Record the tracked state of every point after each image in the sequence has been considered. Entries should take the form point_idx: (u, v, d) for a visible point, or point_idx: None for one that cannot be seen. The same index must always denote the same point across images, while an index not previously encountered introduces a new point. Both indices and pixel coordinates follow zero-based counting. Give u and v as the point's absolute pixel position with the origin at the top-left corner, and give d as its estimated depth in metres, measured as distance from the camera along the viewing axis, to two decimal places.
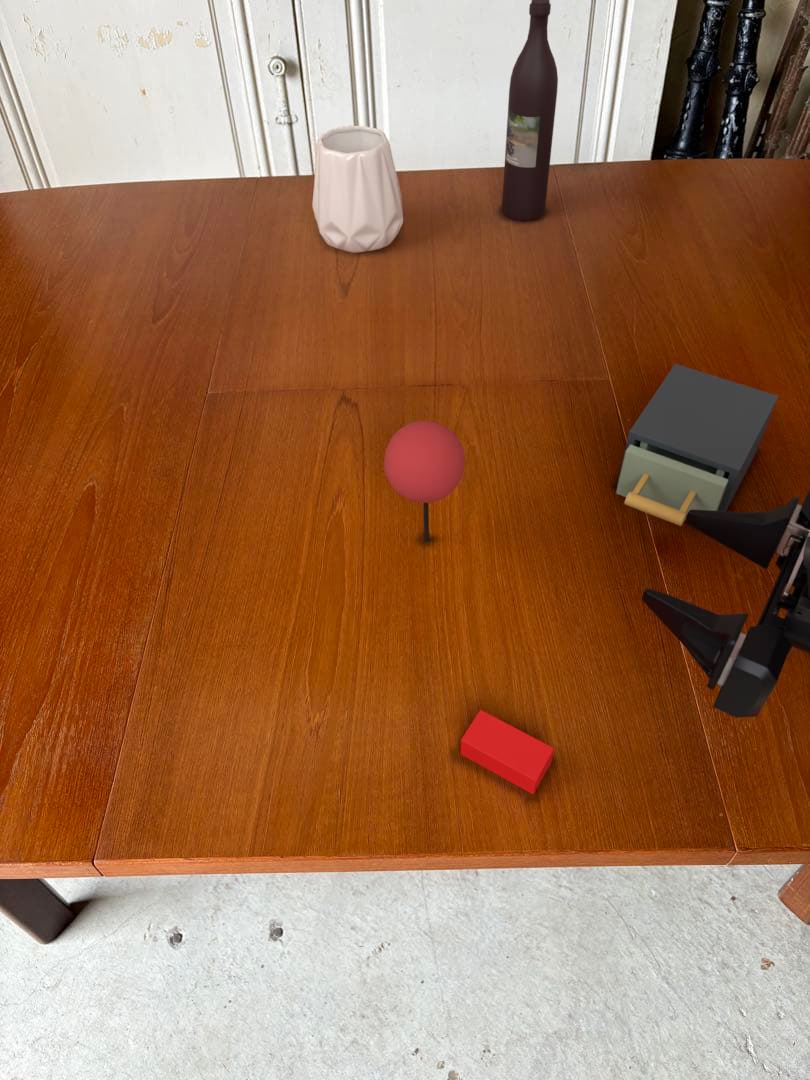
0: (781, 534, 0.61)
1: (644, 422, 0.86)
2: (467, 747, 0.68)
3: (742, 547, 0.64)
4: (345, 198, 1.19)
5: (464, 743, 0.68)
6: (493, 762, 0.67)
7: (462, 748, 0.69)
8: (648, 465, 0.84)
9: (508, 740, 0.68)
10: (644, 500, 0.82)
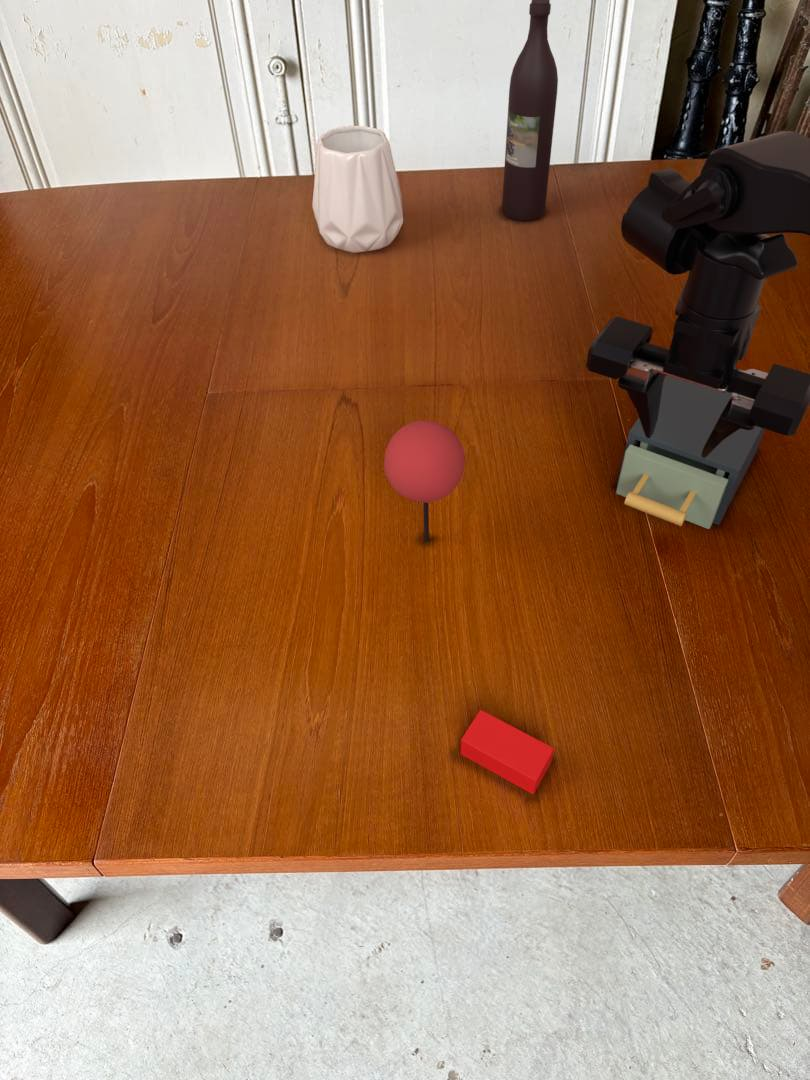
0: None
1: None
2: (467, 747, 0.68)
3: None
4: (345, 198, 1.19)
5: (464, 743, 0.68)
6: (493, 762, 0.67)
7: (462, 748, 0.69)
8: (648, 465, 0.84)
9: (508, 740, 0.68)
10: (644, 500, 0.82)
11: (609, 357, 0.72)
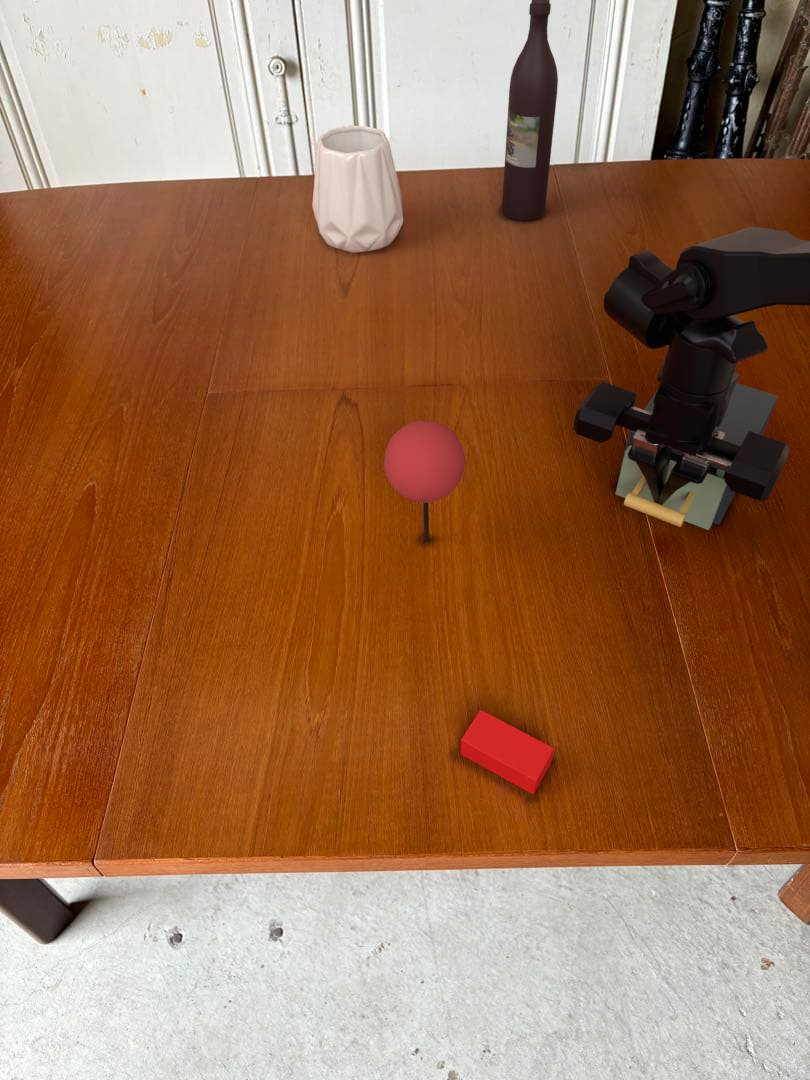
0: None
1: None
2: (467, 747, 0.68)
3: None
4: (345, 198, 1.19)
5: (464, 743, 0.68)
6: (493, 762, 0.67)
7: (462, 748, 0.69)
8: None
9: (508, 740, 0.68)
10: (643, 501, 0.82)
11: (595, 423, 0.76)
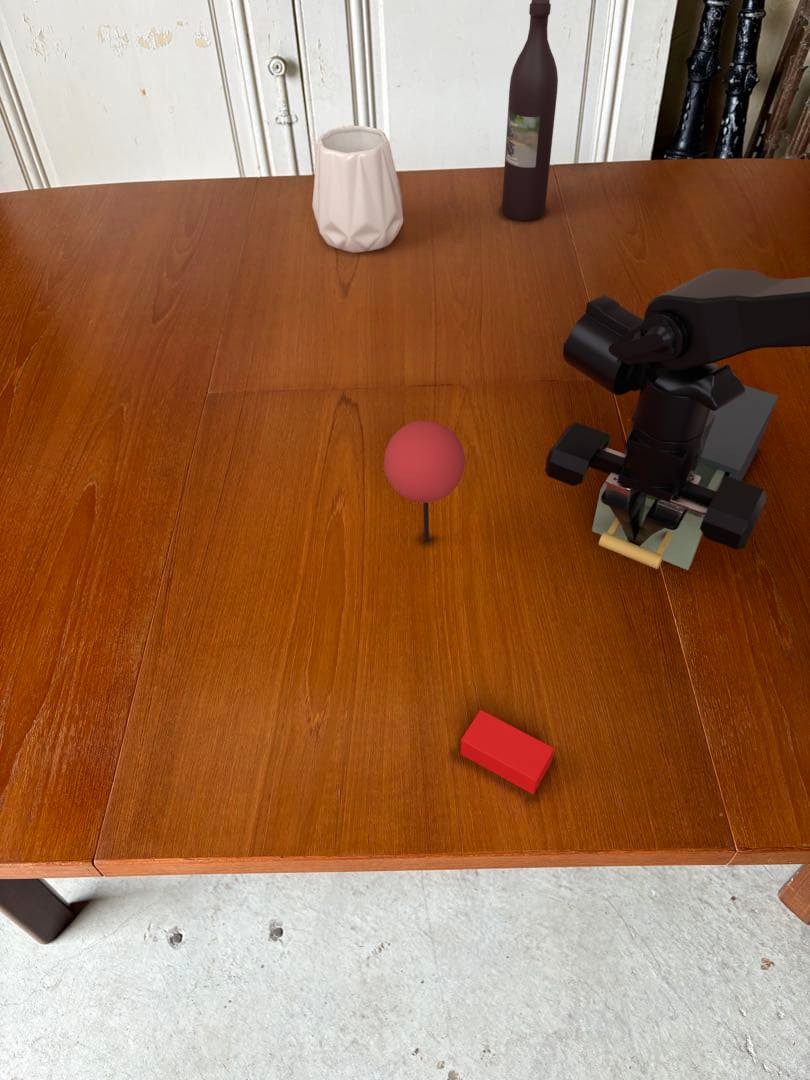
0: None
1: None
2: (467, 747, 0.68)
3: None
4: (345, 198, 1.19)
5: (464, 743, 0.68)
6: (493, 762, 0.67)
7: (462, 748, 0.69)
8: None
9: (508, 740, 0.68)
10: (619, 541, 0.78)
11: (566, 466, 0.74)
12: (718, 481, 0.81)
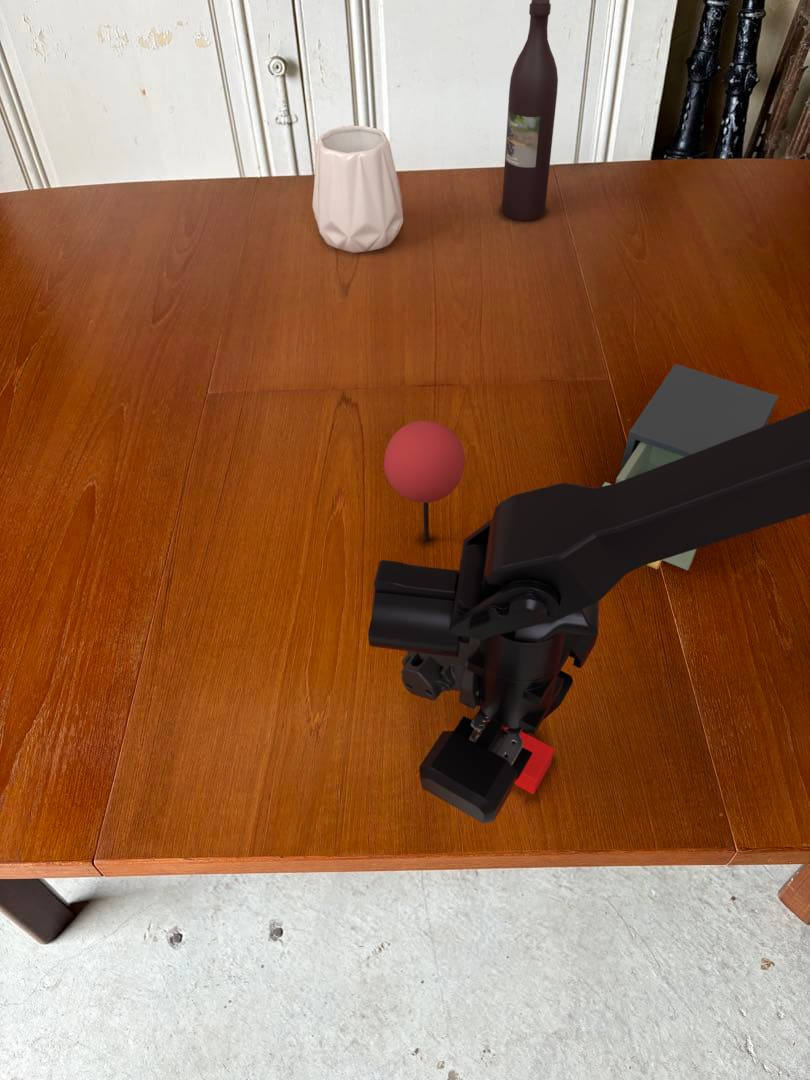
0: None
1: (644, 422, 0.86)
2: None
3: None
4: (345, 198, 1.19)
5: None
6: None
7: None
8: None
9: None
10: None
11: (504, 790, 0.57)
12: None
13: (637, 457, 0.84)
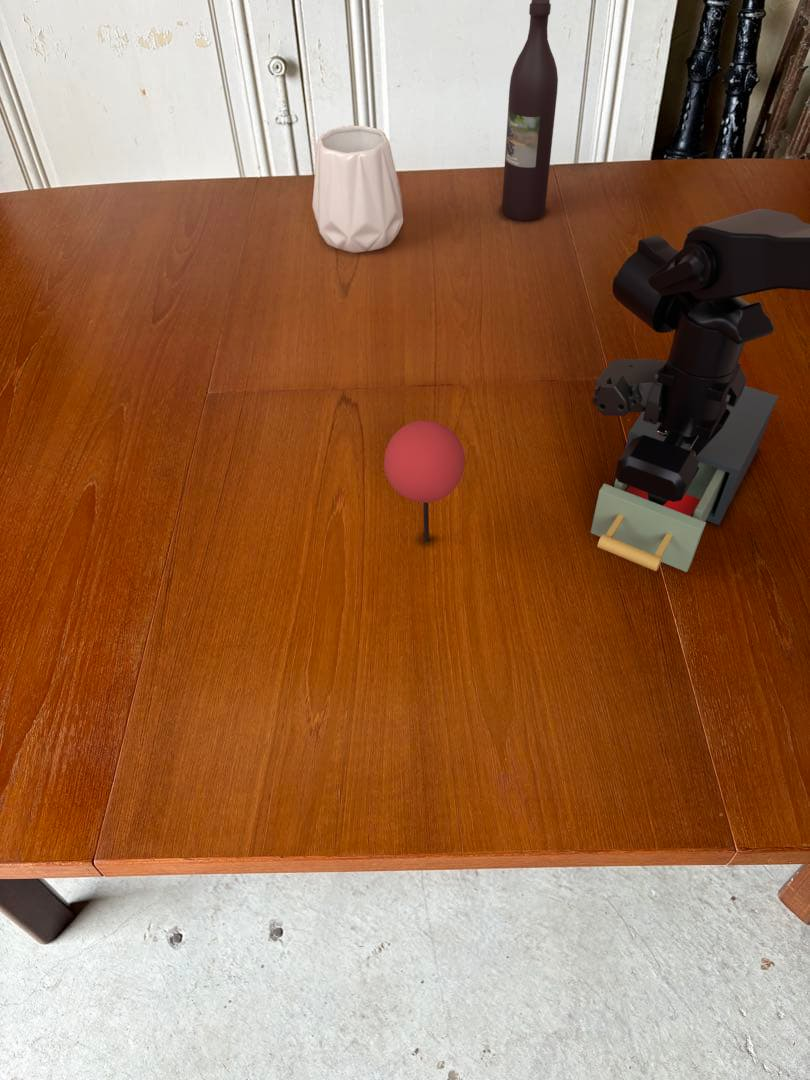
0: None
1: (644, 422, 0.86)
2: None
3: (699, 440, 0.80)
4: (345, 198, 1.19)
5: None
6: None
7: None
8: (622, 505, 0.80)
9: None
10: (618, 543, 0.78)
11: (691, 472, 0.70)
12: (717, 483, 0.81)
13: None
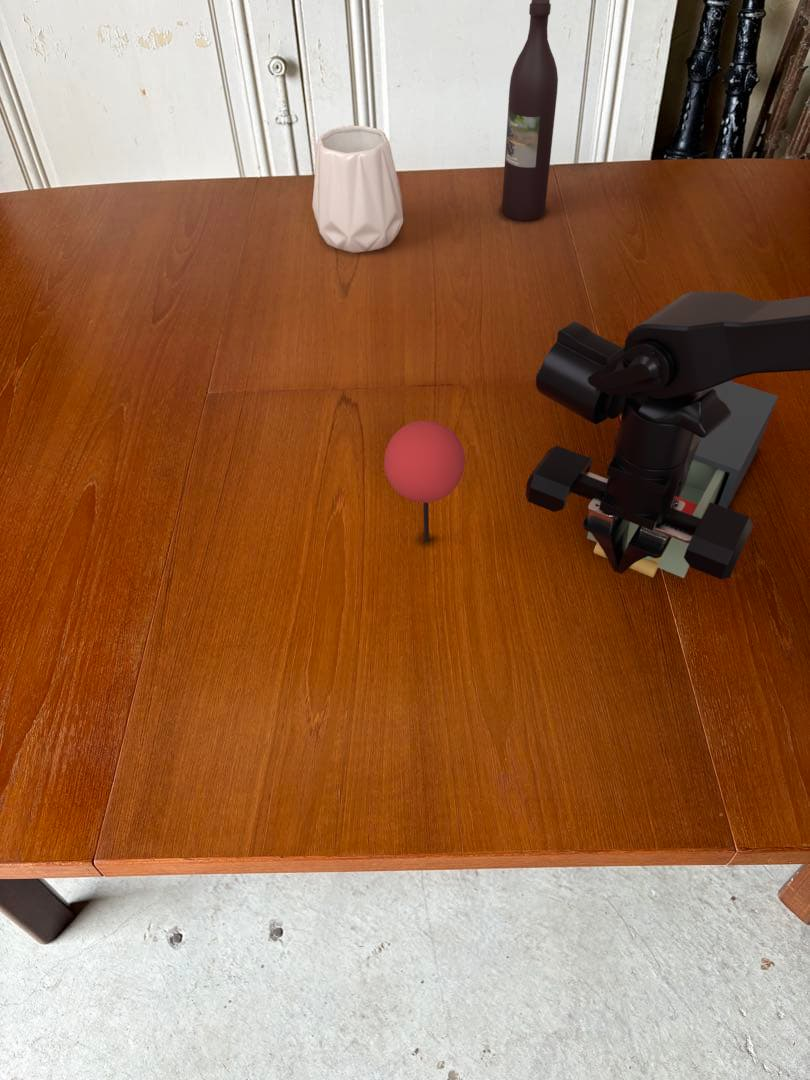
0: None
1: None
2: None
3: None
4: (345, 198, 1.19)
5: None
6: None
7: None
8: None
9: None
10: None
11: (547, 491, 0.71)
12: (714, 488, 0.81)
13: None
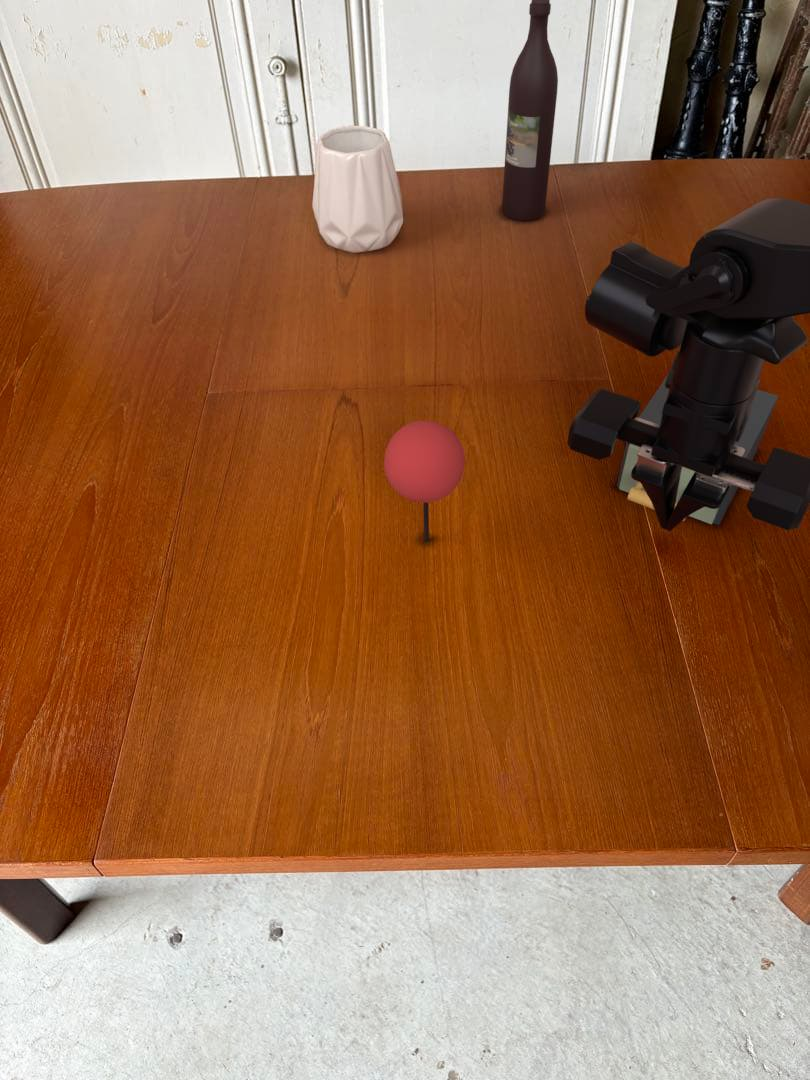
0: None
1: None
2: None
3: None
4: (345, 198, 1.19)
5: None
6: None
7: None
8: None
9: None
10: (647, 495, 0.82)
11: (592, 436, 0.65)
12: None
13: None
